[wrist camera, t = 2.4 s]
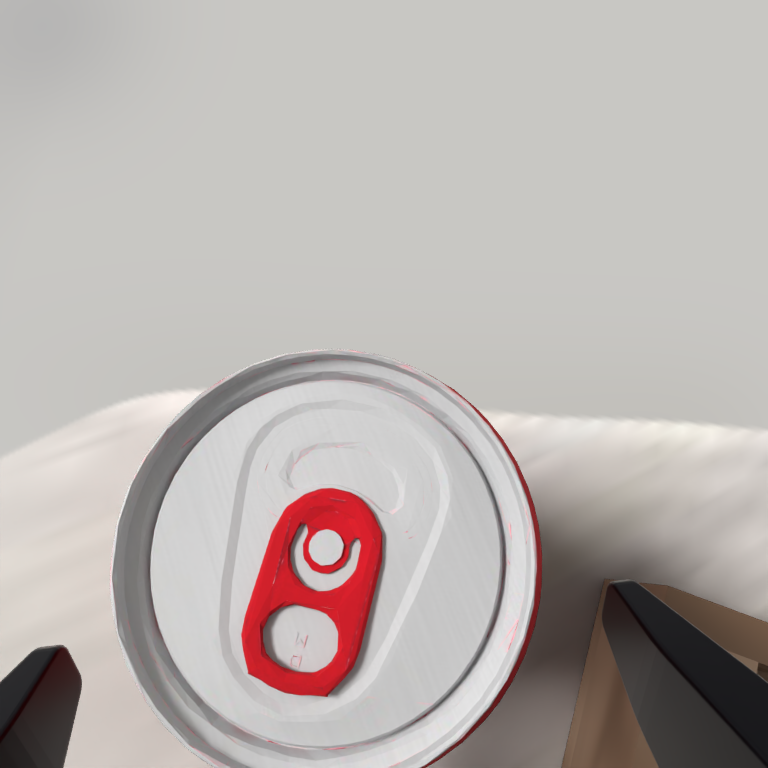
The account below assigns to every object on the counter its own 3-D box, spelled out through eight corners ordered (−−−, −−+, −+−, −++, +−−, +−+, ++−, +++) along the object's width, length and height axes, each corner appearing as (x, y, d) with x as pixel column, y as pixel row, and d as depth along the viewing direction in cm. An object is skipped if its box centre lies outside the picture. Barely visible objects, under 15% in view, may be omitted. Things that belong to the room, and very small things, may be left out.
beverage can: (466, 483, 19) (618, 375, 7) (424, 679, 17) (539, 938, 6) (291, 437, 19) (175, 264, 8) (232, 624, 17) (-35, 761, 6)
